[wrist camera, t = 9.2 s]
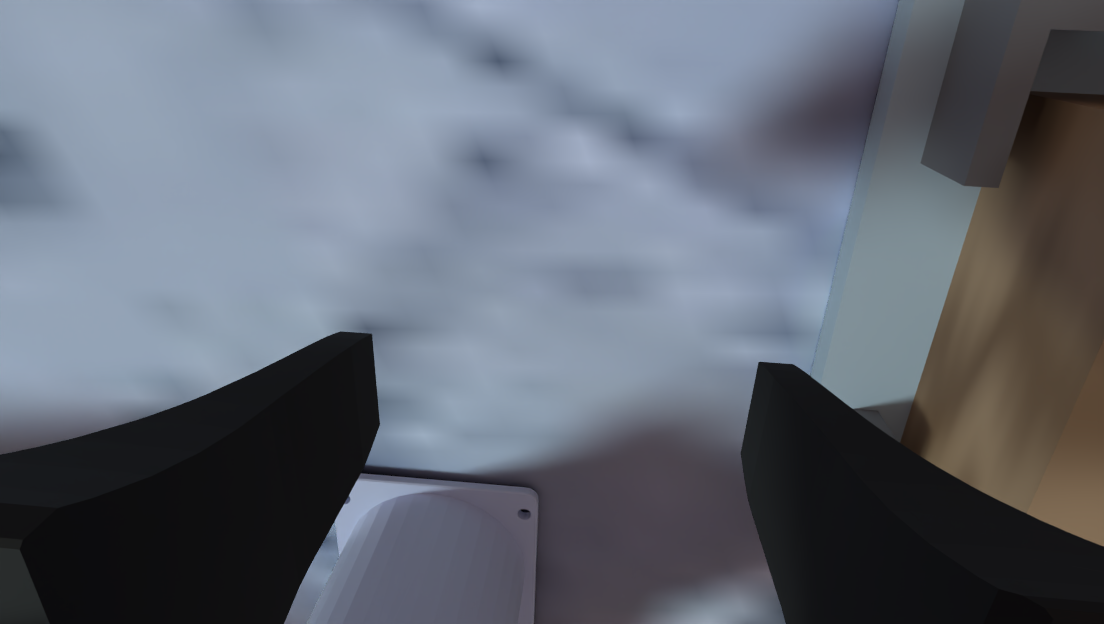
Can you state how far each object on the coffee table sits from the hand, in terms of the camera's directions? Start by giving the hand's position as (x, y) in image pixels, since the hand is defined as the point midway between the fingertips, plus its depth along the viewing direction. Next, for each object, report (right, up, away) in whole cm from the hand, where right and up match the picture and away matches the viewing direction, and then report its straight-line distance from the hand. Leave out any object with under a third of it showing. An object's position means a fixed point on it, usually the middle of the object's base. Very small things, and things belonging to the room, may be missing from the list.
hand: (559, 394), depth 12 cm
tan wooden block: (+14, +2, +7) cm, 16 cm away
